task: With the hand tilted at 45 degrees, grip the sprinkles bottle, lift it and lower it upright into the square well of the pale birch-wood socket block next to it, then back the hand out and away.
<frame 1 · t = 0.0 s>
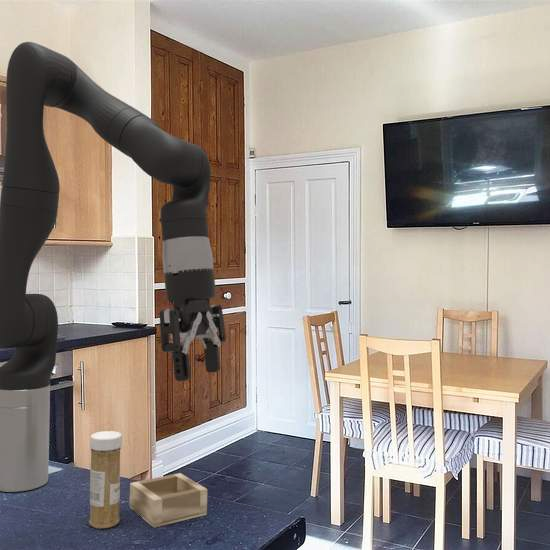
hand: (198, 376, 93), 22 cm above the counter, tool pointing down, fingers open, 8 cm apart
sprinkles bottle: (104, 524, 93), on the counter
socket block: (167, 511, 98), on the counter
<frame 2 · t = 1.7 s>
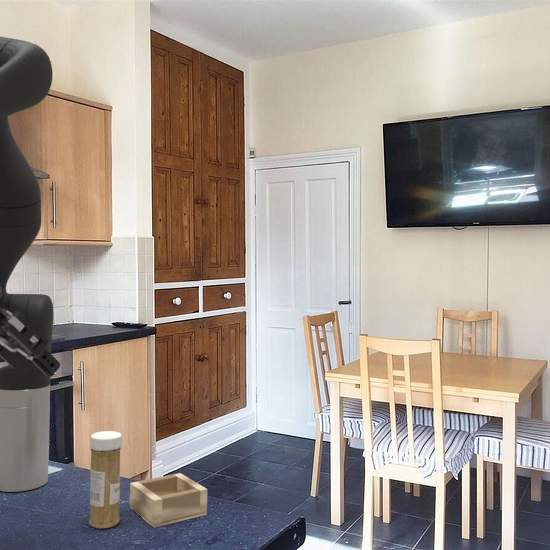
hand: (37, 367, 84), 25 cm above the counter, tool tilted 45°, fingers open, 8 cm apart
nothing on the counter moved.
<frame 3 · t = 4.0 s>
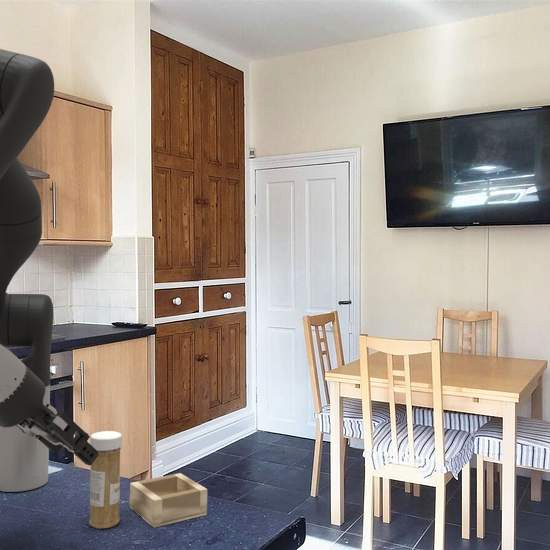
hand: (76, 453, 89), 12 cm above the counter, tool tilted 45°, fingers open, 8 cm apart
nothing on the counter moved.
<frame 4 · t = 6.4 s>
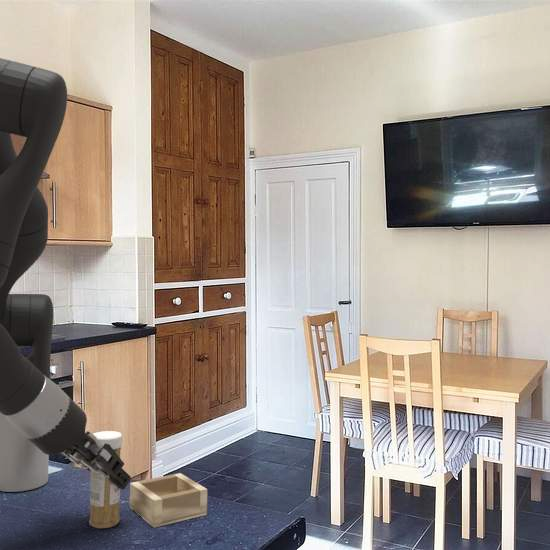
hand: (115, 479, 94), 6 cm above the counter, tool tilted 45°, fingers closed on sprinkles bottle, 4 cm apart
sprinkles bottle: (104, 524, 93), on the counter, touching gripper
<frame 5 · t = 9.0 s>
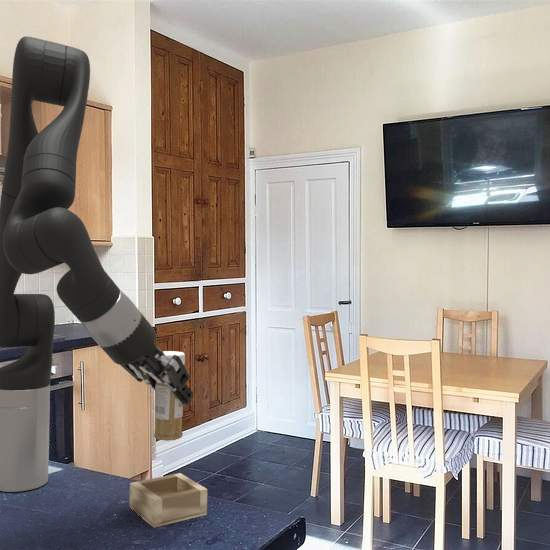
hand: (178, 397, 99), 18 cm above the counter, tool tilted 45°, fingers closed on sprinkles bottle, 4 cm apart
sprinkles bottle: (167, 438, 97), point 12 cm above the counter, touching gripper
when the fingers open (8 cm above the counter, at t = 11.7 s): sprinkles bottle drops 1 cm, resting on socket block.
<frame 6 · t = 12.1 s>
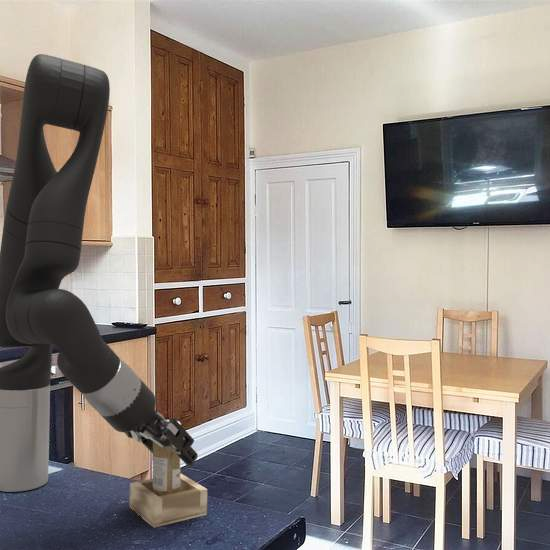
hand: (175, 455, 99), 9 cm above the counter, tool tilted 45°, fingers open, 7 cm apart
sprinkles bottle: (166, 508, 98), resting on socket block
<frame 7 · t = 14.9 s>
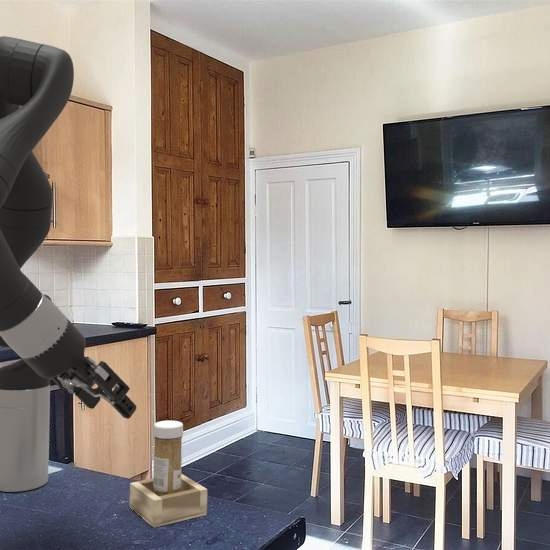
hand: (113, 408, 89), 18 cm above the counter, tool tilted 45°, fingers open, 8 cm apart
nothing on the counter moved.
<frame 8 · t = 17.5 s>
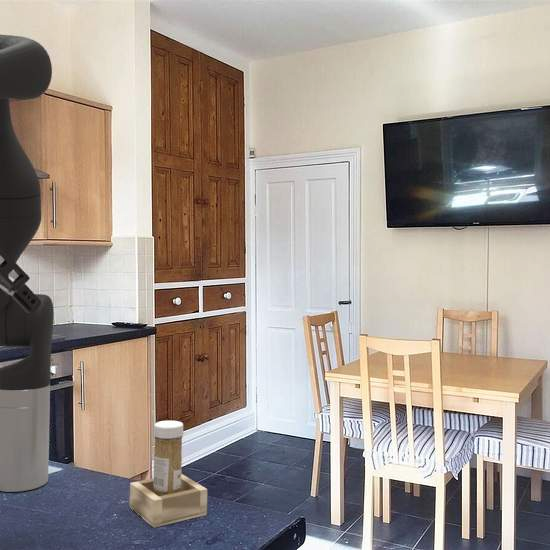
hand: (19, 306, 85), 33 cm above the counter, tool tilted 45°, fingers open, 8 cm apart
nothing on the counter moved.
at the end: sprinkles bottle 0.2 cm off-centre on the socket block, point 0.4 cm above the socket block's base; sprinkles bottle tilted 0°; the gripper is holding nothing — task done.
